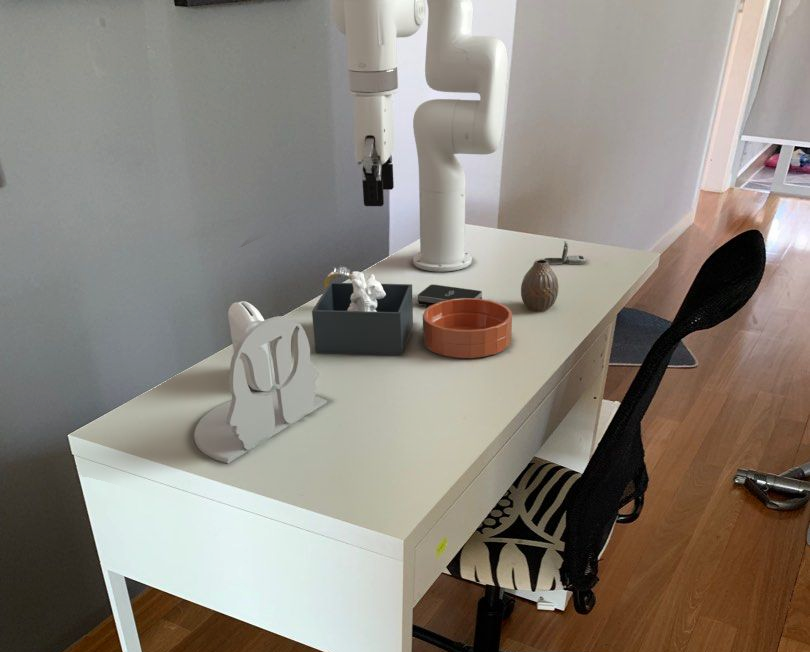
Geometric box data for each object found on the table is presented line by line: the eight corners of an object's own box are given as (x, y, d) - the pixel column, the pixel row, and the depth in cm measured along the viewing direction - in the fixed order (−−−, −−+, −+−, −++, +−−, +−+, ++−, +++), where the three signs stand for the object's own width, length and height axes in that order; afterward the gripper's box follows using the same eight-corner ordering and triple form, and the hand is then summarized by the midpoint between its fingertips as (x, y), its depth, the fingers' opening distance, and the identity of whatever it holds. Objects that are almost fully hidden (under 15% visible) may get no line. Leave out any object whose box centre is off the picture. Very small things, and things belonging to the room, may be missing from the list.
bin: (333, 322, 158) (329, 282, 154) (413, 324, 156) (412, 284, 152) (315, 353, 147) (311, 310, 143) (401, 356, 145) (400, 313, 141)
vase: (556, 301, 164) (559, 255, 158) (557, 314, 158) (561, 267, 153) (519, 301, 164) (522, 255, 159) (520, 314, 159) (522, 267, 154)
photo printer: (233, 370, 142) (222, 297, 135) (258, 364, 144) (248, 292, 136) (252, 394, 135) (241, 318, 127) (278, 388, 136) (269, 313, 129)
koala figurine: (371, 348, 147) (368, 279, 140) (337, 343, 149) (332, 274, 142) (392, 330, 153) (390, 263, 146) (359, 325, 155) (355, 259, 148)
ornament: (228, 464, 117) (208, 350, 107) (162, 439, 124) (138, 329, 114) (329, 402, 132) (319, 296, 122) (265, 382, 138) (251, 280, 128)
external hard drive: (469, 313, 160) (469, 303, 159) (415, 305, 164) (415, 295, 163) (482, 301, 165) (483, 291, 164) (430, 293, 169) (430, 283, 168)
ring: (363, 307, 164) (360, 266, 159) (356, 313, 161) (353, 271, 157) (330, 303, 166) (327, 262, 161) (323, 309, 164) (319, 267, 159)
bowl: (429, 323, 156) (428, 297, 153) (512, 326, 154) (513, 299, 151) (418, 358, 144) (417, 329, 141) (508, 361, 142) (509, 332, 139)
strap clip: (584, 259, 183) (585, 239, 181) (585, 264, 181) (587, 244, 178) (544, 260, 183) (545, 240, 181) (545, 264, 181) (546, 244, 179)
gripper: (360, 72, 139) (366, 183, 149) (337, 92, 125) (346, 212, 135) (405, 72, 138) (409, 183, 148) (388, 91, 124) (393, 212, 134)
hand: (379, 197), depth 142 cm, fingers open, 9 cm apart
